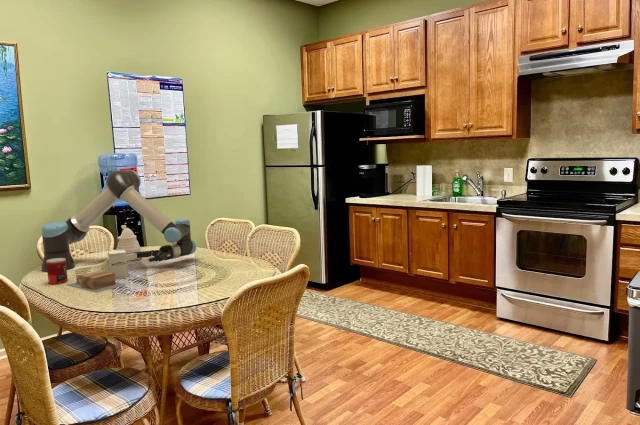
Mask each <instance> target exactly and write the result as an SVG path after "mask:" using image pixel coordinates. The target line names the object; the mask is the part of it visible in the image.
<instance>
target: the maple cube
mask: <svg viewBox="0 0 640 425" xmlns="http://www.w3.org/2000/svg"><path fill="white" fill-rule="evenodd" d="M84 274H89V273H88V272H87V273H86V272H83V273H78V274H75V278H76V280H75V281H76V282H77V284H81V279H80V275H84Z"/></svg>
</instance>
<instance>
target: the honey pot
mask: <svg viewBox="0 0 640 425" xmlns="http://www.w3.org/2000/svg"><path fill="white" fill-rule="evenodd" d="M120 227H121V229H122V231H121V234H120V236H117V240H118V242H117V246H116V248H115V251H118V250H125V251H126V255H130V254H134V252H142V251H141V250H142V249H141V248H142V247H141V246H140V244H139V241H138V240H137V239H138V237H137V235H135V234H134V232H133V230H132V229H130V228H129V227H127V225H126V224H124V225H123V224H122V225H121V226H120Z"/></svg>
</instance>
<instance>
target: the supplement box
mask: <svg viewBox="0 0 640 425" xmlns="http://www.w3.org/2000/svg"><path fill="white" fill-rule="evenodd" d="M107 256H108V267H109V269H108V270H109V271H108V272H111V273H115V280H118V279H125V278H128V277H129V274H128V261H127V258H126V251H125V250H118V251H116V250H110V251H108V252H107Z"/></svg>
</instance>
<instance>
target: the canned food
mask: <svg viewBox="0 0 640 425" xmlns="http://www.w3.org/2000/svg"><path fill="white" fill-rule="evenodd" d="M46 263H47V281H48V284H49V285H62V284H66V283H68V281H69V280H68V270H67V267H66V259H65V258H54V259H49V260H47V262H46Z"/></svg>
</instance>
